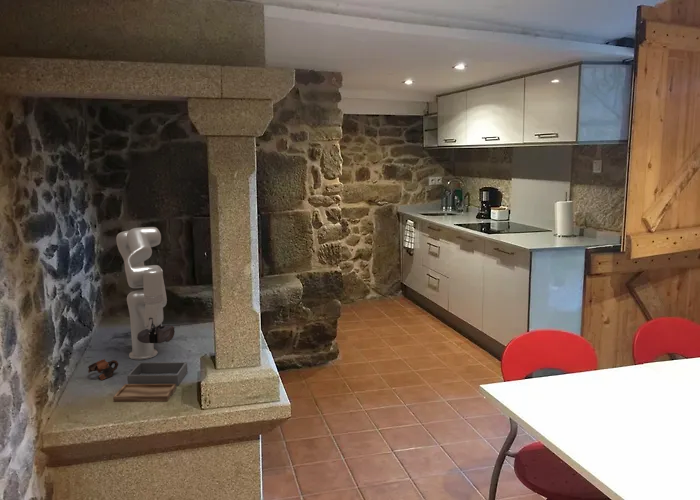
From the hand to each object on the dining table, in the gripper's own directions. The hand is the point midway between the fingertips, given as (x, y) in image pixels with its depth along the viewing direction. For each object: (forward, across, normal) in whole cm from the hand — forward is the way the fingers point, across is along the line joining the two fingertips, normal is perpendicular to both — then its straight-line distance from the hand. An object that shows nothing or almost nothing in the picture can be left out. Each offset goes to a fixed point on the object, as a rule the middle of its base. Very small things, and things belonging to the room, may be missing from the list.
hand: (156, 339), depth 233 cm
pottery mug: (+18, -4, -24) cm, 30 cm away
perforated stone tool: (+1, 0, 0) cm, 1 cm away
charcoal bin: (+17, 0, 0) cm, 17 cm away
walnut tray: (+17, +16, 0) cm, 24 cm away
